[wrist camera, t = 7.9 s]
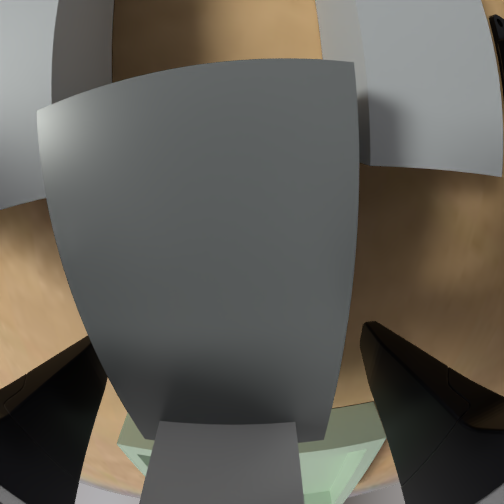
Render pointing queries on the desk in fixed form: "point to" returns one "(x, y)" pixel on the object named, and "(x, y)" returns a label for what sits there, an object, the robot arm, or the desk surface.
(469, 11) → the bay housing
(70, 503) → the robot arm
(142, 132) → the grey block with handle
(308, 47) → the desk surface
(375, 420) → the tray
